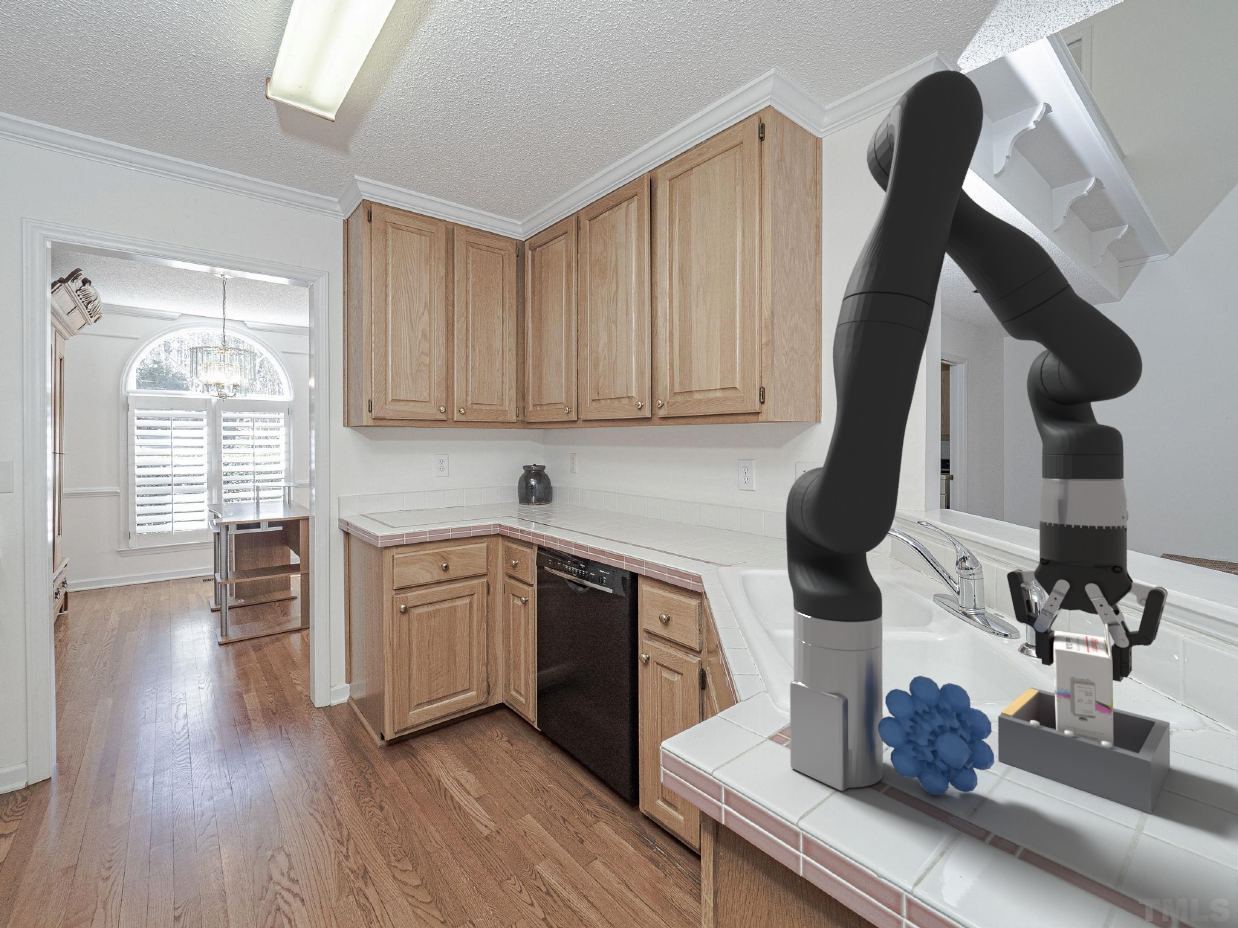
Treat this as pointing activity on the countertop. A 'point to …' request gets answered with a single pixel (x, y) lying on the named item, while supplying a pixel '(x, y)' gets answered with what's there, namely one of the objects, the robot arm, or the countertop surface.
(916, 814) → the countertop surface
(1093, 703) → the ink cartridge box
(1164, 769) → the cartridge dock
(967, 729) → the blue flower
